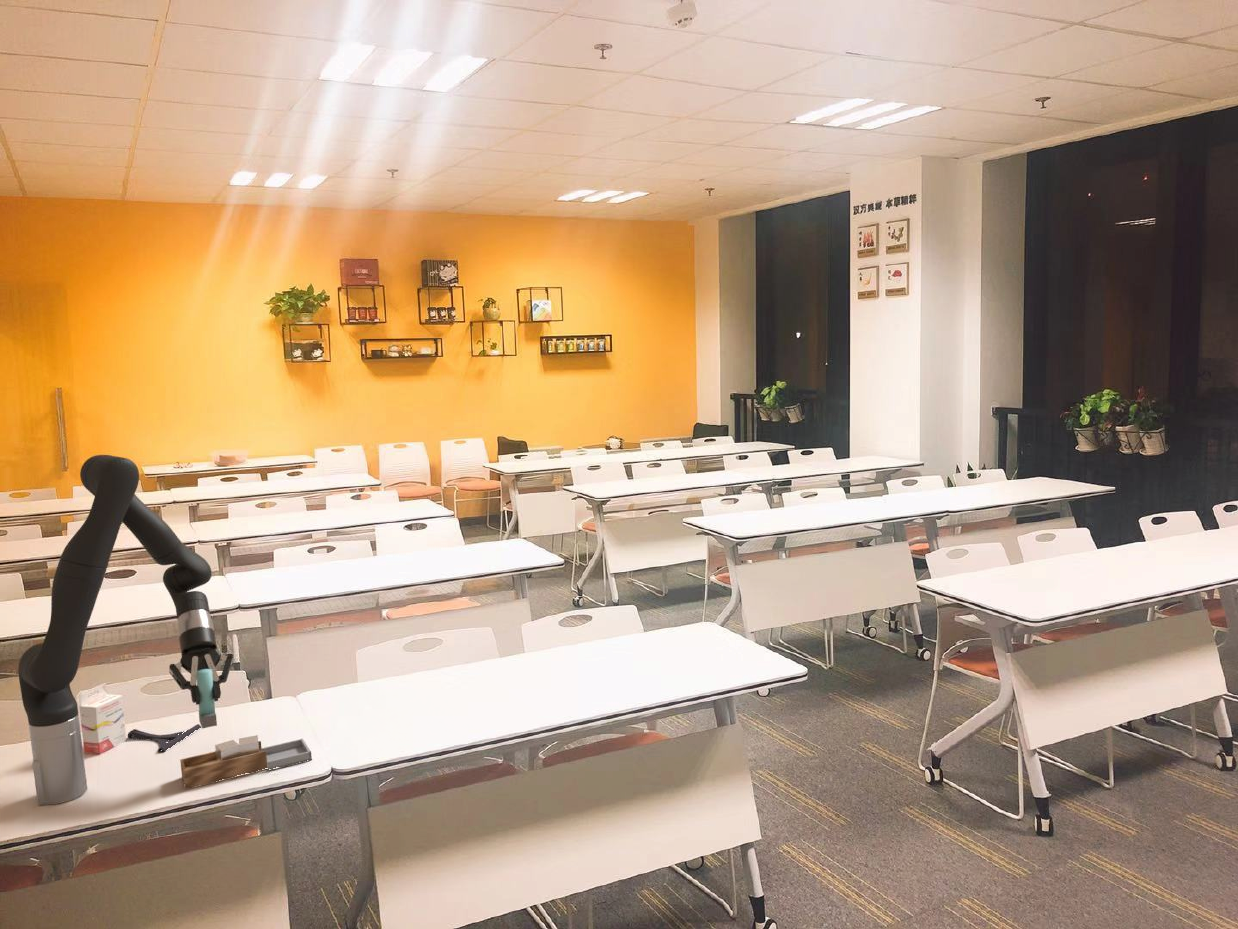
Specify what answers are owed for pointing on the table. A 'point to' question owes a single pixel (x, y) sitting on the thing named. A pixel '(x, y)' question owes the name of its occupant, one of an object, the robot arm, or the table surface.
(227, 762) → the channel
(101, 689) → the ink cartridge box
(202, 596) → the robot arm
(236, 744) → the light grey block
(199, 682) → the teal block
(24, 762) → the table surface
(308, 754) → the tray
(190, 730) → the black forked piece
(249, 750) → the chip
